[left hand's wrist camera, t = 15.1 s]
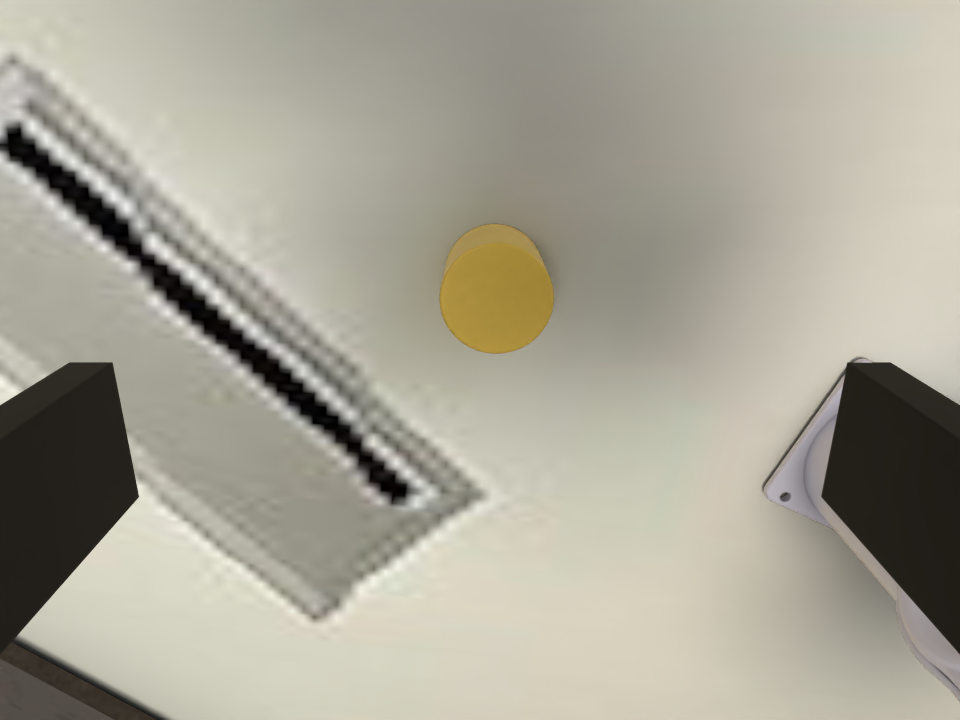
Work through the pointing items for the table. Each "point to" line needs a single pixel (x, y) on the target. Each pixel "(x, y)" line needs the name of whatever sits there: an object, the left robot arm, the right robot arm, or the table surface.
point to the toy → (53, 692)
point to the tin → (495, 290)
